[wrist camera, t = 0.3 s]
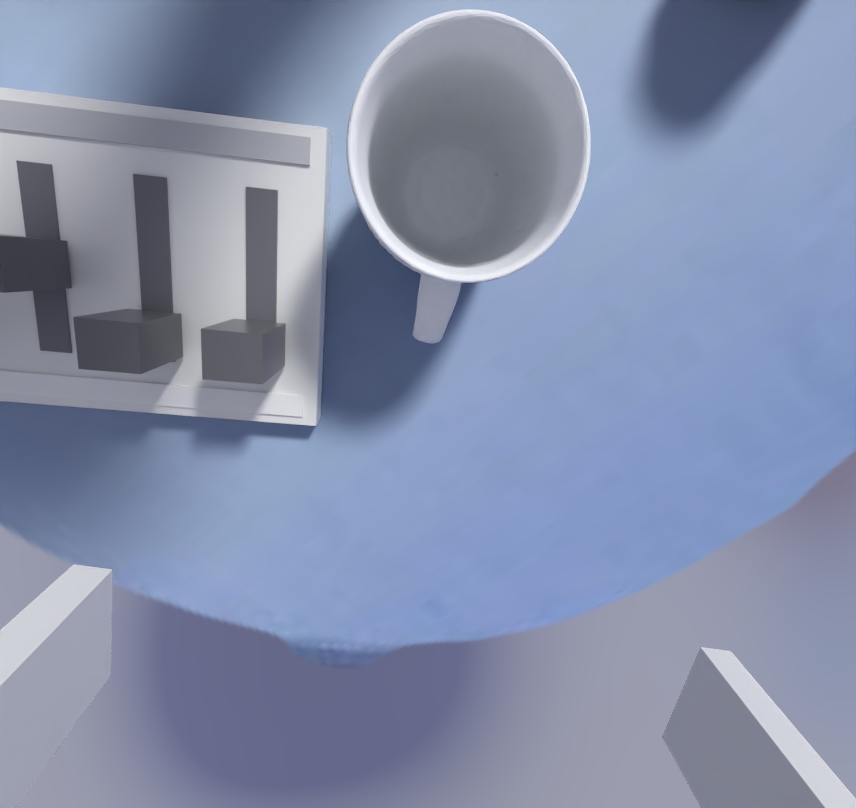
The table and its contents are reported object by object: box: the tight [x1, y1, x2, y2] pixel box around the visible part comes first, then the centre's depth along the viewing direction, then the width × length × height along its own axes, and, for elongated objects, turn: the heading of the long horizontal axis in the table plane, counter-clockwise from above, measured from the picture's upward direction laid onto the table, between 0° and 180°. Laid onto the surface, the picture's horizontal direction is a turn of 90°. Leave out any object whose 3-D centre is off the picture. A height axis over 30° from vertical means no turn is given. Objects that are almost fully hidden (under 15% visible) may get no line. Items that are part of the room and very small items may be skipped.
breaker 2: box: [73, 309, 183, 374], centre depth 30 cm, size 3×4×6 cm
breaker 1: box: [0, 234, 72, 293], centre depth 28 cm, size 3×4×6 cm
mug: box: [347, 10, 590, 343], centre depth 28 cm, size 15×11×13 cm
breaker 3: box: [201, 319, 286, 384], centre depth 30 cm, size 3×4×6 cm
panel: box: [0, 87, 332, 426], centre depth 33 cm, size 20×28×2 cm
